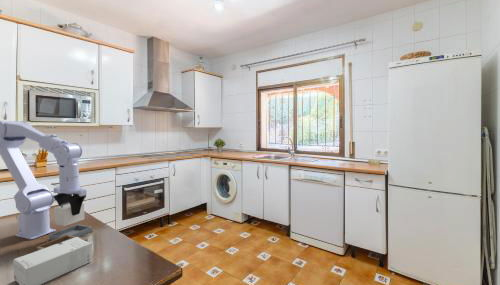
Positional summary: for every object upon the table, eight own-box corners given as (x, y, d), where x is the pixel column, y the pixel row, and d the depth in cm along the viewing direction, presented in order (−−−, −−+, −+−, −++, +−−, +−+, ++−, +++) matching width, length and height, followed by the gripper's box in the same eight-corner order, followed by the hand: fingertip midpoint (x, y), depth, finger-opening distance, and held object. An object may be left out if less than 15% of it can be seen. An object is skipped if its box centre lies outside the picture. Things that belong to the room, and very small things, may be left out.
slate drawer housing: (48, 240, 83) (48, 234, 83) (77, 229, 93) (77, 224, 93) (64, 243, 81) (64, 238, 80) (92, 232, 90) (92, 226, 90)
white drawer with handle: (55, 224, 84) (54, 204, 83) (75, 217, 90) (74, 198, 90) (64, 226, 82) (63, 205, 82) (84, 219, 89) (83, 199, 88)
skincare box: (92, 242, 69) (26, 268, 56) (92, 262, 69) (26, 292, 56) (76, 235, 73) (11, 258, 60) (76, 254, 73) (11, 281, 60)
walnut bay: (35, 256, 72) (34, 247, 72) (67, 243, 81) (66, 234, 81) (57, 262, 69) (56, 252, 69) (87, 247, 78) (87, 238, 78)
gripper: (43, 177, 84) (45, 214, 85) (71, 180, 79) (72, 219, 80) (64, 174, 91) (66, 208, 92) (91, 176, 86) (92, 213, 87)
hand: (70, 213), depth 86 cm, fingers closed on white drawer with handle, 5 cm apart
